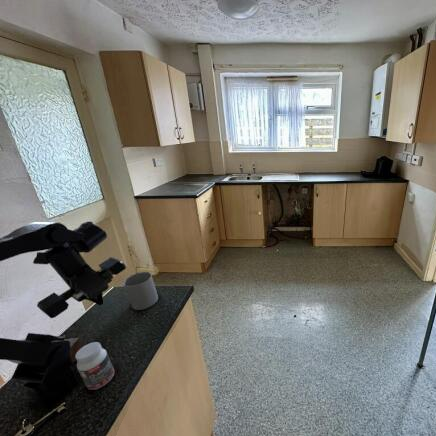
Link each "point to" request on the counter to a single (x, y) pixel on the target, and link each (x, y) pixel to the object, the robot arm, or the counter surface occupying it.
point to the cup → (141, 290)
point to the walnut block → (74, 348)
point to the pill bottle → (94, 365)
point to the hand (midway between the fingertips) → (101, 304)
